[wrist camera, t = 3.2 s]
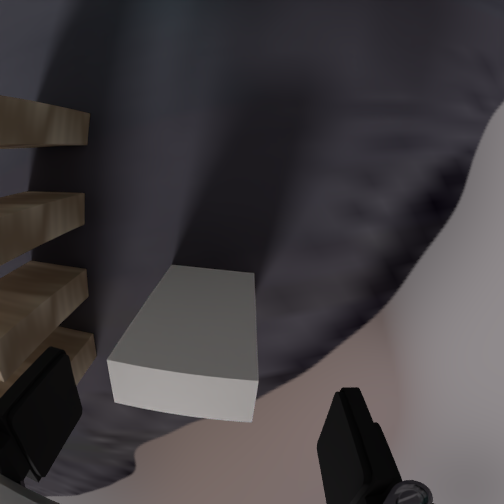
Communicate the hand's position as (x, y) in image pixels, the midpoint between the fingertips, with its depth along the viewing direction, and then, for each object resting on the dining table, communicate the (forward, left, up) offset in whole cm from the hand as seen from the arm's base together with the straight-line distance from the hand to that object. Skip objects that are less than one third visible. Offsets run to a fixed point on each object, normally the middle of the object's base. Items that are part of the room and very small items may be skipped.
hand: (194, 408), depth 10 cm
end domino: (0, -1, -10) cm, 10 cm away
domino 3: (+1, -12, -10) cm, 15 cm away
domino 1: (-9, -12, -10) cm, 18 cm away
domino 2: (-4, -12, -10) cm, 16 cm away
